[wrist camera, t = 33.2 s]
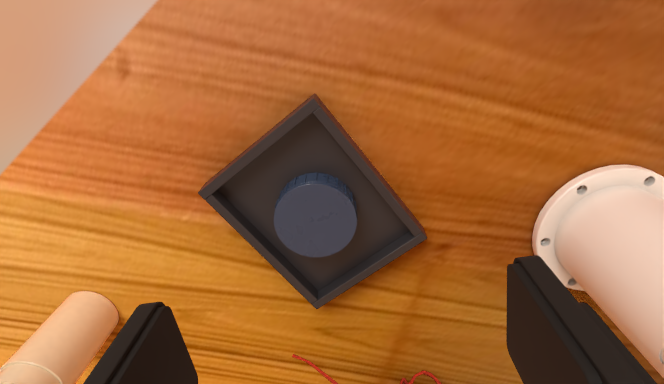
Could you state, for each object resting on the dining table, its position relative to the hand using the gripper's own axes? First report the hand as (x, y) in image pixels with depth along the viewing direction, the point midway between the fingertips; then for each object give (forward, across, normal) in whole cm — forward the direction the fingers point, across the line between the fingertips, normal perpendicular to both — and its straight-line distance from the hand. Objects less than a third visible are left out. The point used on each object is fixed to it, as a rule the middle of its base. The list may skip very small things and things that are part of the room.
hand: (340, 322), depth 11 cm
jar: (+24, +28, +16) cm, 40 cm away
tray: (+24, +3, +8) cm, 25 cm away
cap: (+21, +3, +8) cm, 23 cm away
